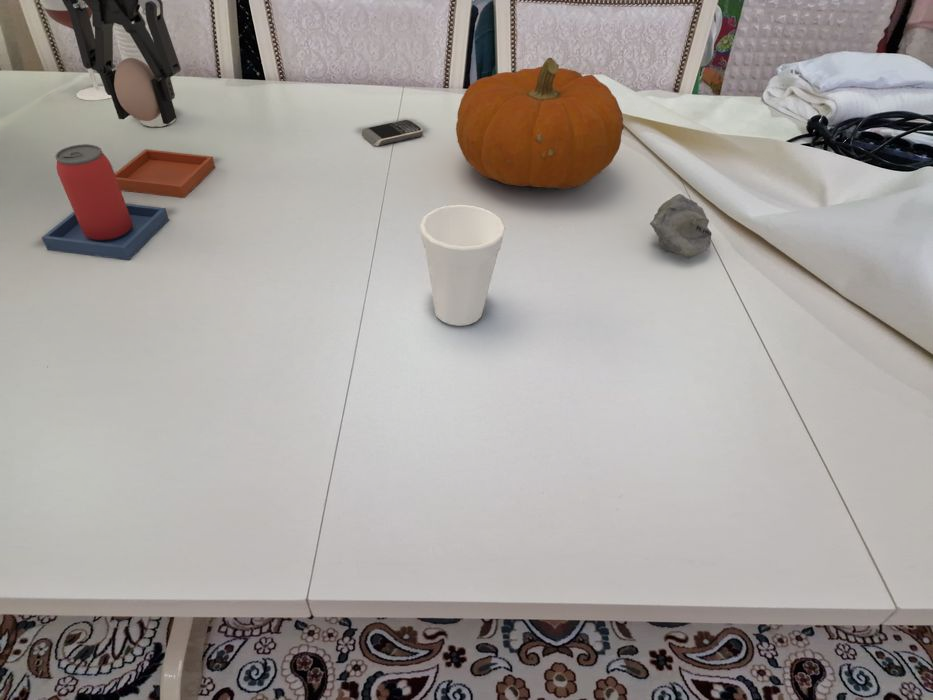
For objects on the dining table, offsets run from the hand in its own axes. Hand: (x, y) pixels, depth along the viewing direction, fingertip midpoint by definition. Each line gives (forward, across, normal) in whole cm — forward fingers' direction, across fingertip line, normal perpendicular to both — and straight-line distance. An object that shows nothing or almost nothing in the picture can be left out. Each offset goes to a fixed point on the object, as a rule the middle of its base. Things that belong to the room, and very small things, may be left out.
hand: (147, 118), depth 97 cm
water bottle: (+10, +12, -22) cm, 27 cm away
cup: (+10, -54, +26) cm, 61 cm away
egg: (0, 0, 0) cm, 0 cm away
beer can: (+10, -1, +18) cm, 21 cm away
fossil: (+10, -84, +4) cm, 85 cm away
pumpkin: (+10, -61, -16) cm, 64 cm away
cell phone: (+10, -33, -26) cm, 43 cm away
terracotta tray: (+10, 0, 0) cm, 10 cm away
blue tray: (+10, -1, +18) cm, 21 cm away
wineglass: (+10, +32, -32) cm, 46 cm away
